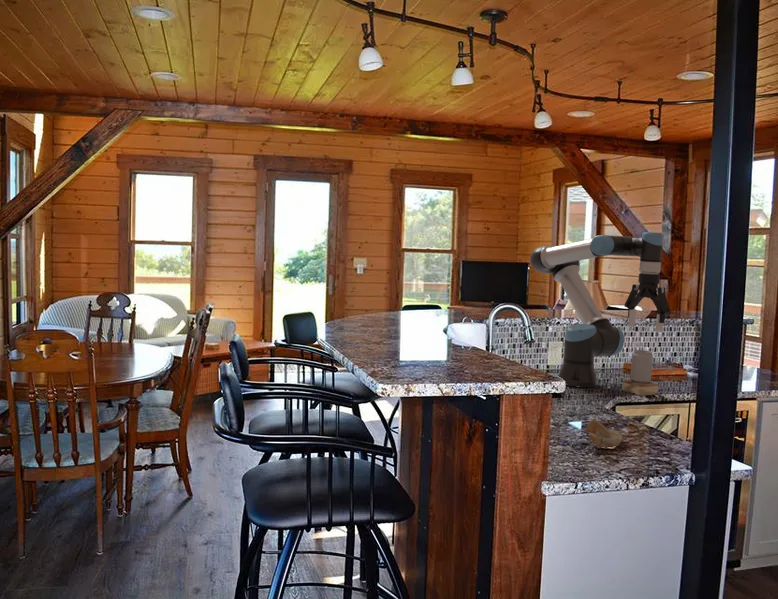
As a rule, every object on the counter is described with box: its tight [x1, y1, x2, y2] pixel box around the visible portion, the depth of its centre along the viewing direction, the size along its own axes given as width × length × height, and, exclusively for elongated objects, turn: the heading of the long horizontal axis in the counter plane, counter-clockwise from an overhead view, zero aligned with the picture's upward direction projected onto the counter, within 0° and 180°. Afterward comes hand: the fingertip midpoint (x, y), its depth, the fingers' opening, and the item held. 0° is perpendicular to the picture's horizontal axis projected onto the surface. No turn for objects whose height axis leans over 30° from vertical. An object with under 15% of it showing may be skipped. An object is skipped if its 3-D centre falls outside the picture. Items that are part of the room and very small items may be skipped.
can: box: [629, 349, 654, 383], centre depth 269 cm, size 8×8×12 cm
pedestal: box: [622, 379, 659, 397], centre depth 270 cm, size 9×9×4 cm
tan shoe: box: [585, 417, 624, 449], centre depth 196 cm, size 9×21×10 cm, turn 144°
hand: (644, 329), depth 268 cm, fingers open, 13 cm apart
